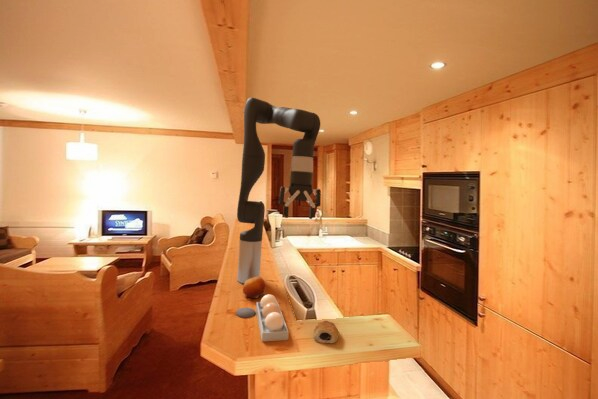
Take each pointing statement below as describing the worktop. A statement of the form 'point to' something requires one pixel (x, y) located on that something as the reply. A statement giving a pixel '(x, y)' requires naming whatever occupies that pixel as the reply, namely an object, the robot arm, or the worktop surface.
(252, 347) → the worktop surface
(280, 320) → the egg
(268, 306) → the pale pink ball
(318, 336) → the pastry
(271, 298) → the egg
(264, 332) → the carton
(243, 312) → the mat
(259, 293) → the fruit
